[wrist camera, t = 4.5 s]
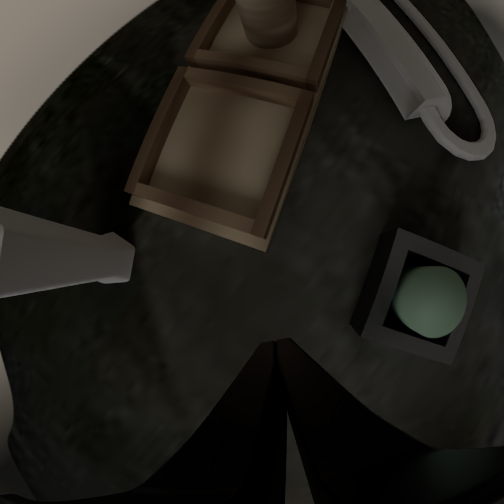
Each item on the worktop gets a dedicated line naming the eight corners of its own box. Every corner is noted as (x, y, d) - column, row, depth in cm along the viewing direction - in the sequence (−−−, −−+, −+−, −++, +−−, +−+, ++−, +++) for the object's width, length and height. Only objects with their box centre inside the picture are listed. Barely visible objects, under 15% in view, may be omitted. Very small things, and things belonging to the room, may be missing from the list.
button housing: (456, 264, 19) (485, 264, 15) (427, 349, 19) (451, 365, 15) (380, 234, 19) (398, 227, 16) (349, 323, 20) (360, 337, 16)
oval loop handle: (492, 158, 20) (522, 141, 16) (431, 182, 19) (465, 162, 15) (373, -13, 21) (386, -39, 18) (302, -14, 20) (311, -45, 17)
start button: (444, 276, 18) (475, 279, 14) (426, 331, 18) (452, 345, 14) (396, 258, 18) (419, 256, 14) (377, 314, 18) (395, 326, 14)
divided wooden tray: (347, 13, 20) (350, -6, 18) (267, 252, 21) (262, 251, 18) (236, -6, 22) (231, -24, 19) (135, 206, 22) (117, 200, 20)
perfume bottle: (137, 222, 22) (-45, 176, 7) (142, 284, 22) (-47, 303, 7) (88, 231, 23) (-83, 203, 8) (92, 288, 22) (-82, 302, 8)
